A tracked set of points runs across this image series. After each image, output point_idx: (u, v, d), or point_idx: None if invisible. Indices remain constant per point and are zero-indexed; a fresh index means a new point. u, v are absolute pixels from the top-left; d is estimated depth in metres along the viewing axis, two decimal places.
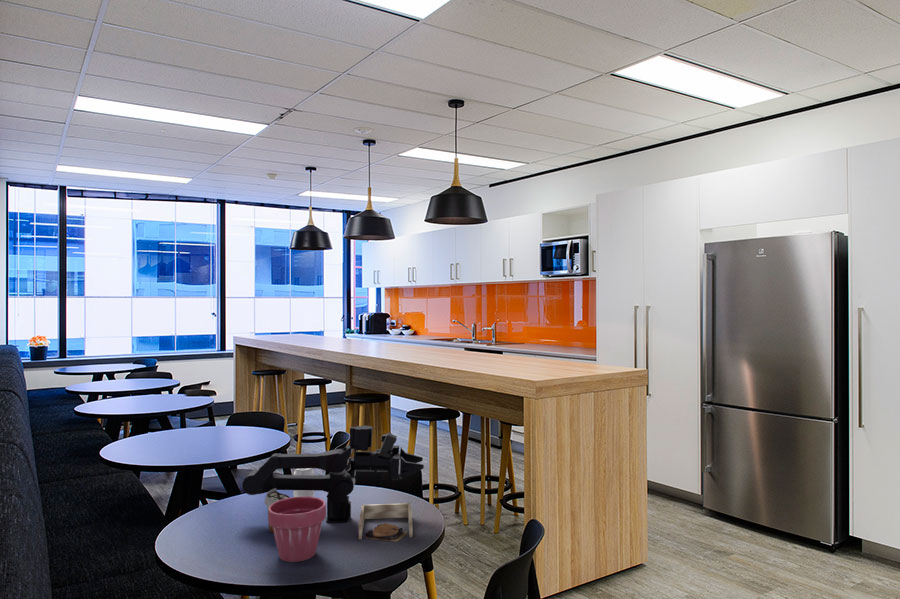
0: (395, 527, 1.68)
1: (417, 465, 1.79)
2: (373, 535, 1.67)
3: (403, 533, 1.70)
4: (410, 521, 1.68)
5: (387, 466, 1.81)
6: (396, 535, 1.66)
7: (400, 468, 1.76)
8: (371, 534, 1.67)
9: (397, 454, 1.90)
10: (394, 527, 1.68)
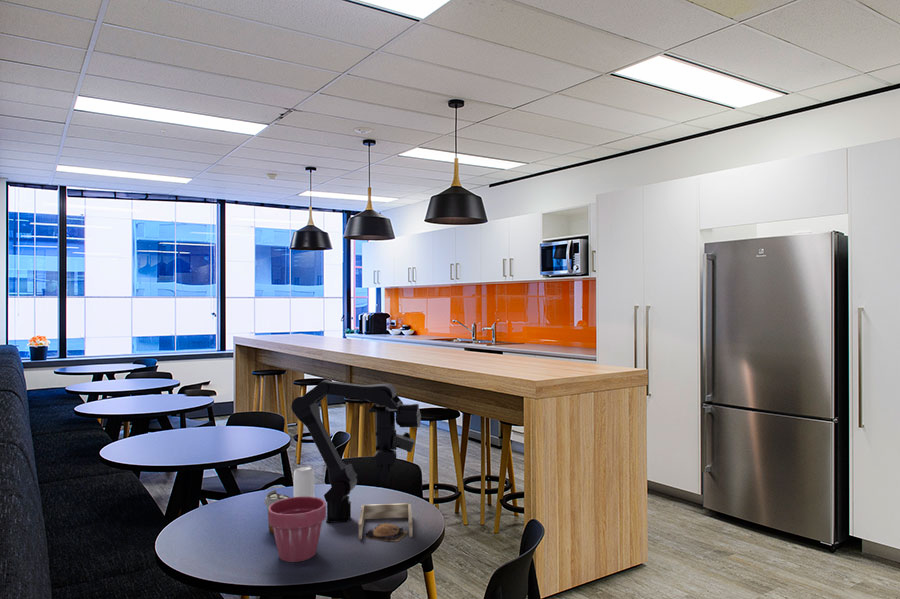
0: (396, 527, 1.69)
1: (387, 477, 1.76)
2: (374, 535, 1.67)
3: (403, 533, 1.70)
4: (410, 521, 1.68)
5: (383, 446, 1.78)
6: (397, 535, 1.66)
7: (386, 462, 1.73)
8: (372, 534, 1.67)
9: None
10: (394, 527, 1.68)
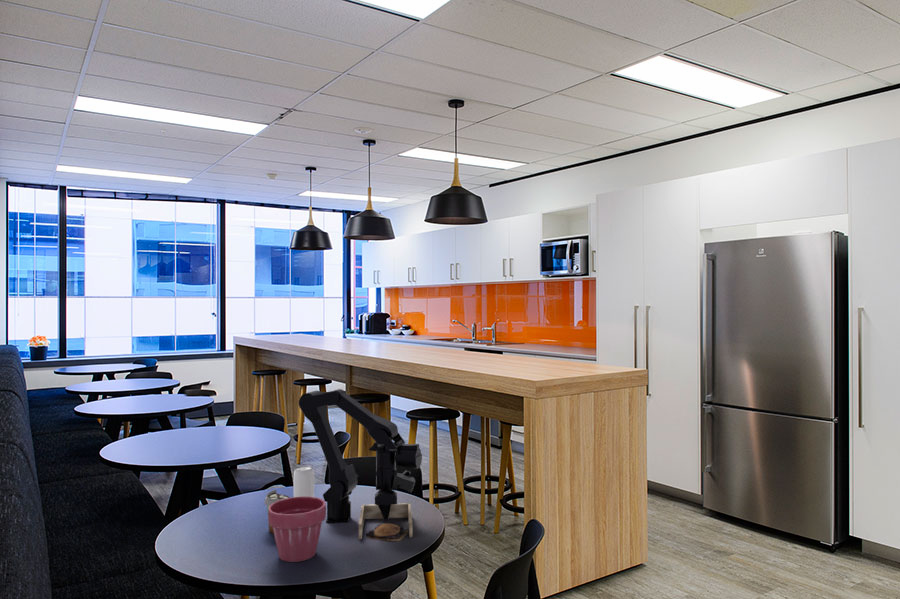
0: (396, 526, 1.69)
1: (387, 514, 1.78)
2: (375, 535, 1.67)
3: (404, 532, 1.70)
4: (410, 521, 1.68)
5: (383, 486, 1.76)
6: (398, 534, 1.67)
7: None
8: (373, 534, 1.67)
9: None
10: (395, 526, 1.69)
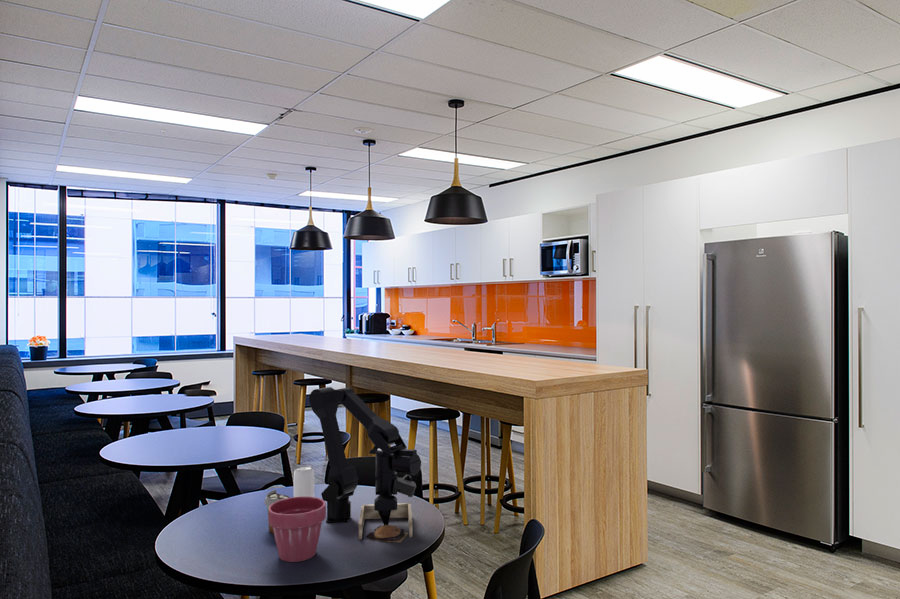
0: (397, 528, 1.68)
1: (387, 520, 1.73)
2: (375, 537, 1.66)
3: (404, 534, 1.69)
4: (410, 521, 1.68)
5: (383, 490, 1.71)
6: (399, 536, 1.66)
7: None
8: (373, 536, 1.66)
9: None
10: (396, 528, 1.68)
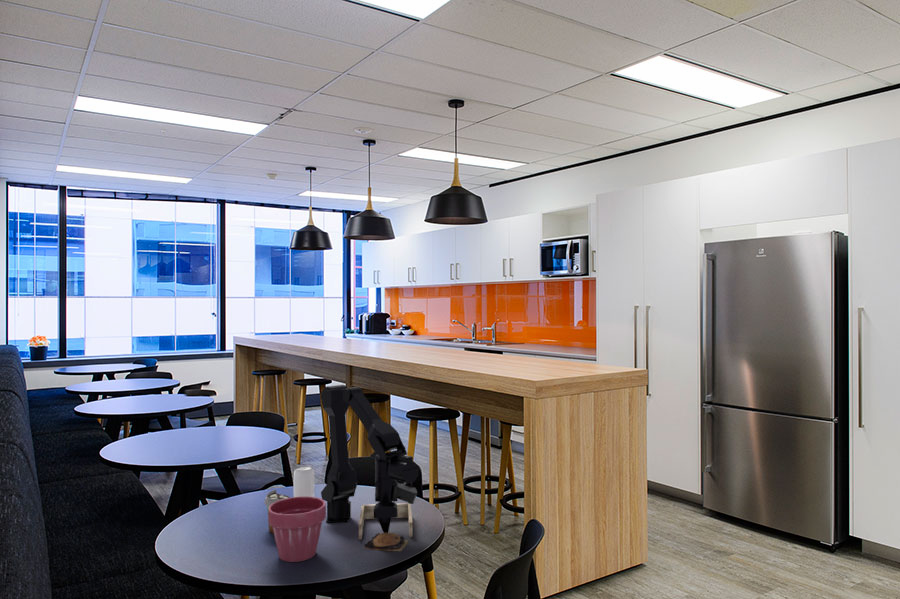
0: (397, 536, 1.62)
1: (387, 527, 1.67)
2: (374, 545, 1.60)
3: (404, 542, 1.63)
4: (410, 521, 1.68)
5: (383, 497, 1.65)
6: (399, 544, 1.60)
7: None
8: (372, 544, 1.60)
9: None
10: (395, 536, 1.62)
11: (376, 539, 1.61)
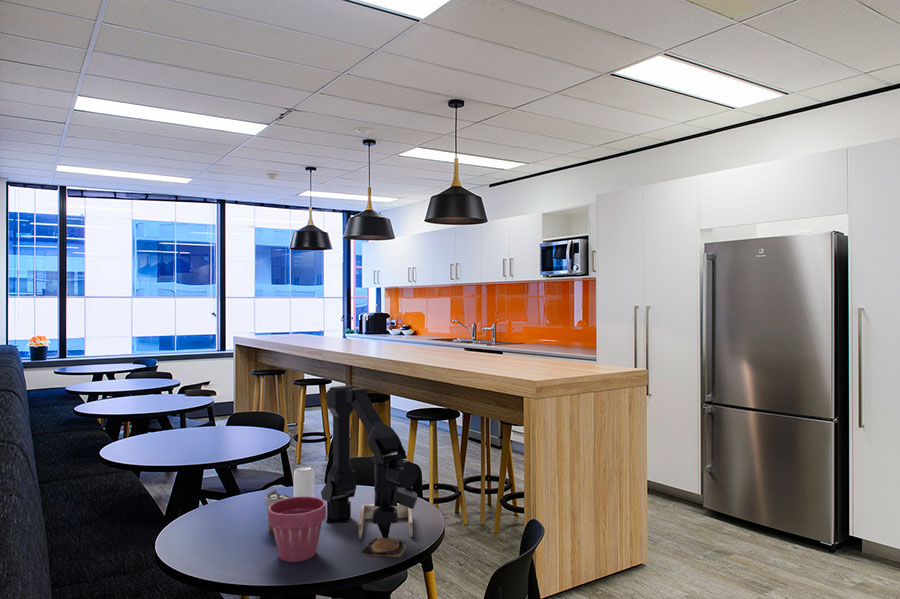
0: (395, 541, 1.58)
1: (387, 533, 1.63)
2: (373, 551, 1.56)
3: (402, 546, 1.60)
4: (410, 521, 1.68)
5: (382, 502, 1.61)
6: (398, 549, 1.56)
7: None
8: (370, 550, 1.56)
9: None
10: (394, 541, 1.58)
11: (374, 545, 1.57)
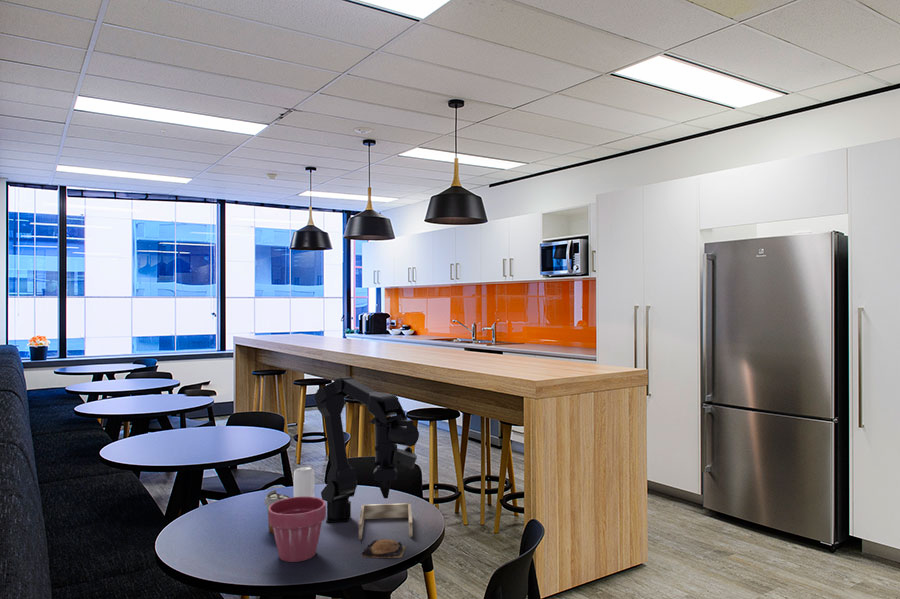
0: (395, 542, 1.58)
1: (387, 492, 1.68)
2: (373, 553, 1.55)
3: (402, 548, 1.59)
4: (410, 521, 1.68)
5: (383, 461, 1.66)
6: (398, 551, 1.56)
7: None
8: (370, 552, 1.55)
9: None
10: (394, 542, 1.57)
11: (374, 546, 1.56)
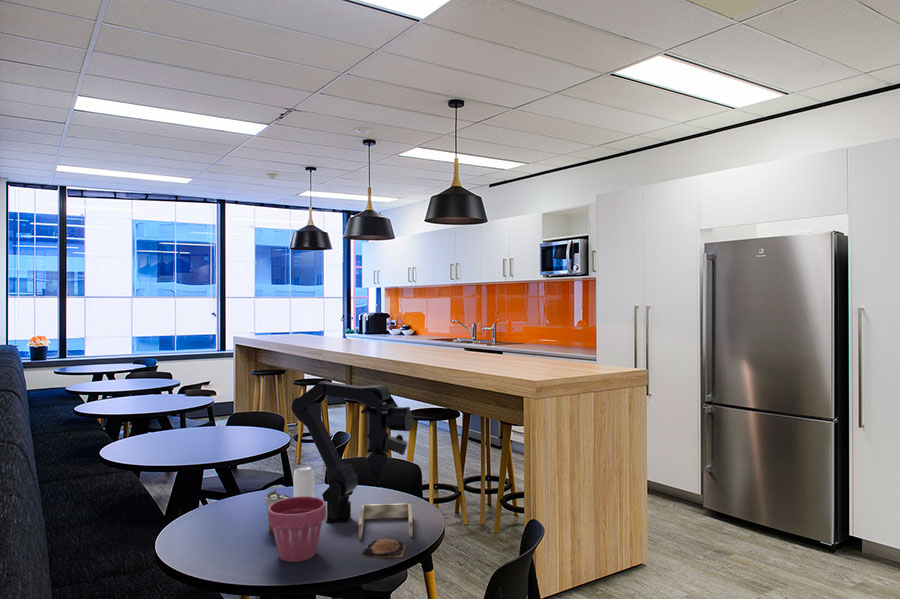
0: (395, 542, 1.58)
1: (379, 477, 1.77)
2: (374, 553, 1.55)
3: None
4: (410, 521, 1.68)
5: (375, 448, 1.75)
6: (399, 550, 1.56)
7: None
8: (371, 552, 1.55)
9: None
10: (394, 542, 1.57)
11: (375, 546, 1.56)
